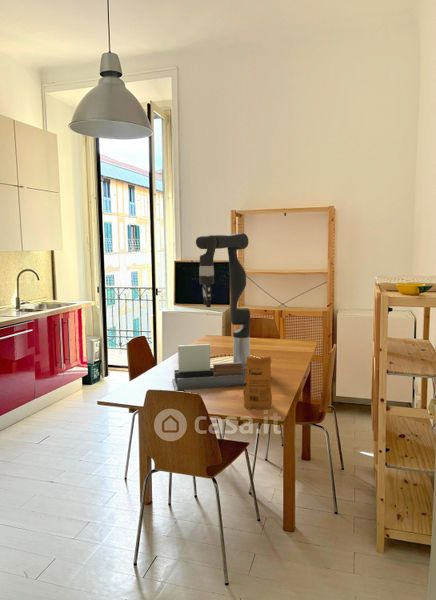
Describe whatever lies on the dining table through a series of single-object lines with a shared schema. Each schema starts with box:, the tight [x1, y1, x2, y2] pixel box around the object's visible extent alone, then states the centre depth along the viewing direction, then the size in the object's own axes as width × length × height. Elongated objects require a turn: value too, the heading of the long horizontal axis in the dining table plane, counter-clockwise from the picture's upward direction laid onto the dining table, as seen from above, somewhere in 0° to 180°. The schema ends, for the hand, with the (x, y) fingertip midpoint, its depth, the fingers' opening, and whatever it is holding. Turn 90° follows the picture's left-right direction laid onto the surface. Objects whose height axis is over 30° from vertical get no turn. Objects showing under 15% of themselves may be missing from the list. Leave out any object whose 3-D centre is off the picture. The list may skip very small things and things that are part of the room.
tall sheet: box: [177, 343, 211, 372], centre depth 242 cm, size 2×16×18 cm, turn 100°
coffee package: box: [242, 356, 273, 410], centre depth 209 cm, size 10×12×22 cm
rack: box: [171, 366, 246, 392], centre depth 239 cm, size 19×38×6 cm, turn 100°
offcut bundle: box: [212, 362, 243, 376], centre depth 238 cm, size 6×14×9 cm, turn 100°
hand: (207, 305), depth 246 cm, fingers open, 8 cm apart
